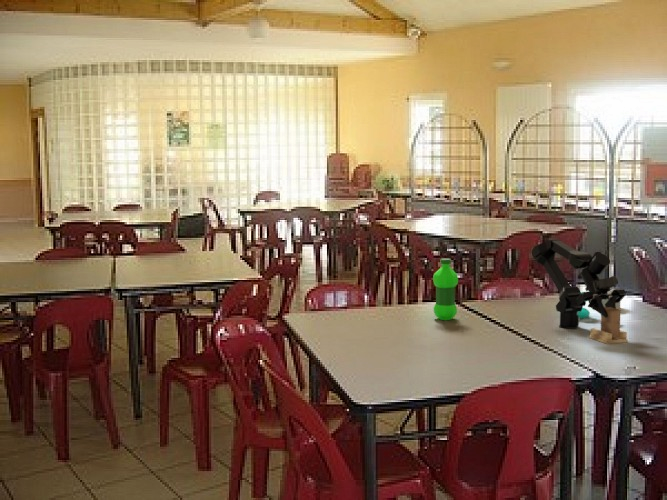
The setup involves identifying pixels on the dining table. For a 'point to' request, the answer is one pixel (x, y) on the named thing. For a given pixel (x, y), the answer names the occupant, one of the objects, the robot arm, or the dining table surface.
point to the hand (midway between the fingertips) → (611, 316)
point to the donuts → (583, 313)
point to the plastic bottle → (445, 291)
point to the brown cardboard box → (611, 322)
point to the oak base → (607, 336)
